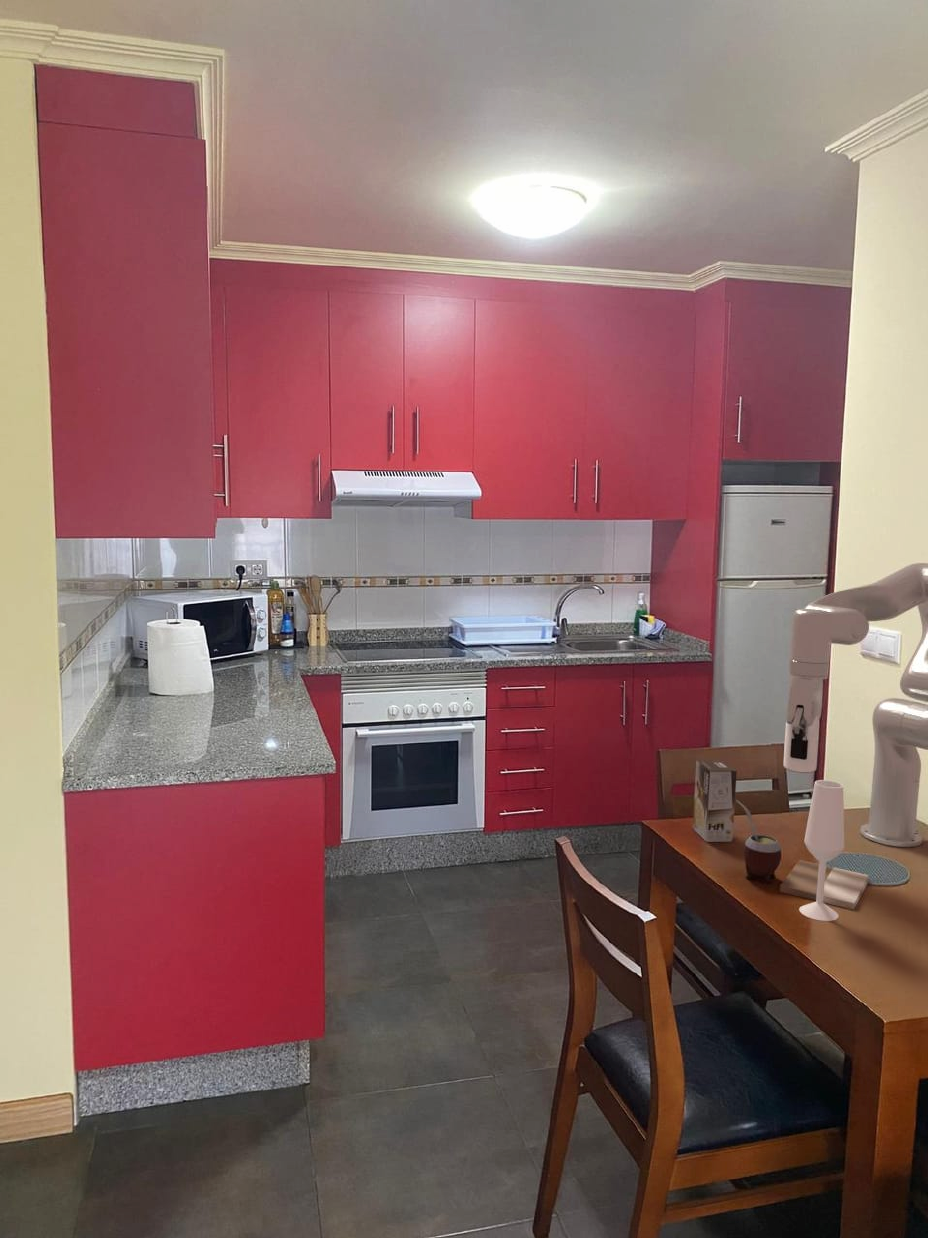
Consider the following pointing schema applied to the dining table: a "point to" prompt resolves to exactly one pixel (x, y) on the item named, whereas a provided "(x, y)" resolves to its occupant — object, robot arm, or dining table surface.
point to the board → (838, 884)
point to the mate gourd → (761, 854)
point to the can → (811, 761)
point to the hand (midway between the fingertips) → (802, 754)
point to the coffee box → (714, 800)
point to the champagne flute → (824, 839)
